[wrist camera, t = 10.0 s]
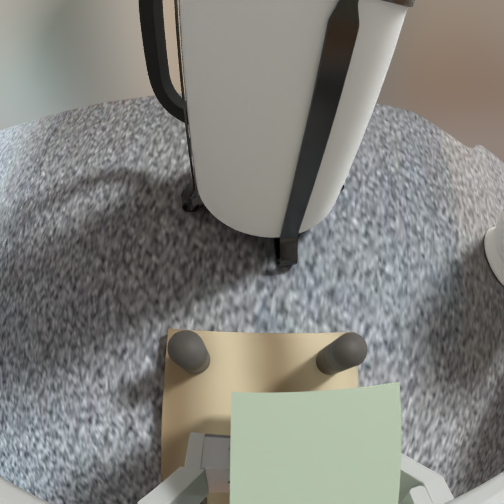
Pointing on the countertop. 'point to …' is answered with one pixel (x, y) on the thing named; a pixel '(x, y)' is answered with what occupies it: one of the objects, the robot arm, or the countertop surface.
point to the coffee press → (272, 102)
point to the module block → (316, 446)
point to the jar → (496, 248)
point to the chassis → (243, 379)
